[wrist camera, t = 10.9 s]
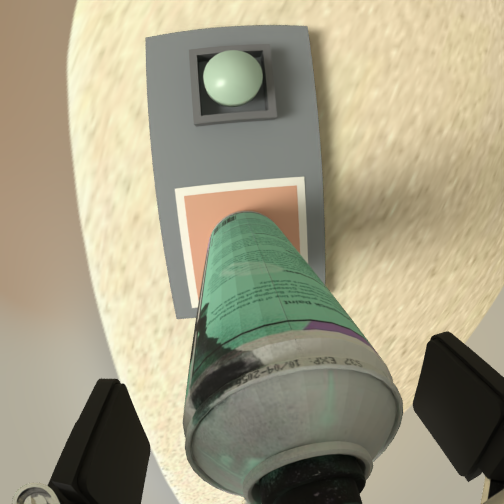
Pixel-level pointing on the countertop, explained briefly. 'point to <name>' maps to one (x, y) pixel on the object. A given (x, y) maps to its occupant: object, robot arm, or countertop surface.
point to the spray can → (281, 377)
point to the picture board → (233, 147)
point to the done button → (232, 78)
